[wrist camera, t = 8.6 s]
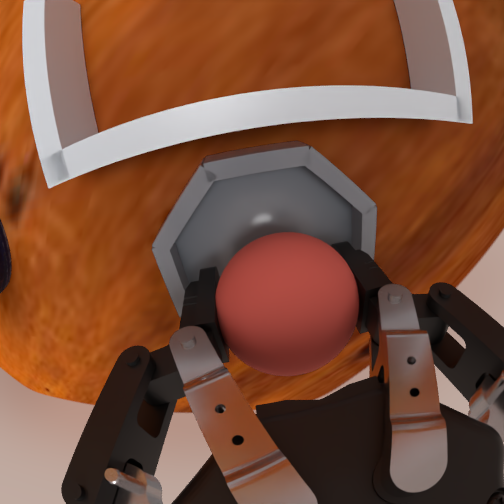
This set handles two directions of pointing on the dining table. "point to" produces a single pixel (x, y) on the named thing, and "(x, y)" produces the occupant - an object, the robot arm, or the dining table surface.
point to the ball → (287, 304)
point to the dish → (258, 209)
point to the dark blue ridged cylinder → (4, 259)
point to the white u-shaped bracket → (230, 107)
